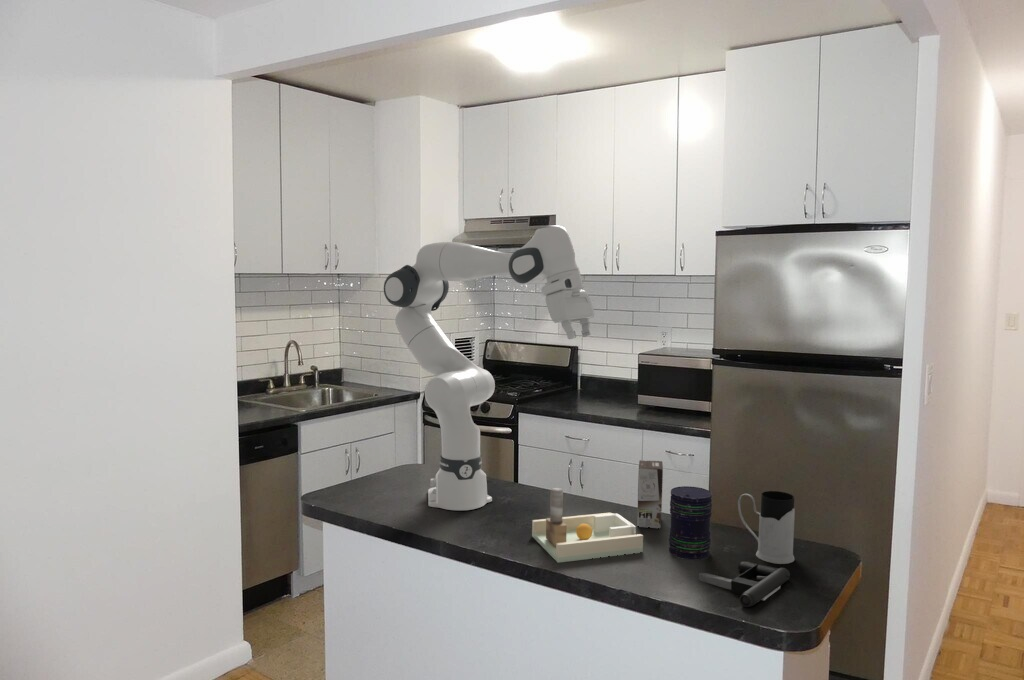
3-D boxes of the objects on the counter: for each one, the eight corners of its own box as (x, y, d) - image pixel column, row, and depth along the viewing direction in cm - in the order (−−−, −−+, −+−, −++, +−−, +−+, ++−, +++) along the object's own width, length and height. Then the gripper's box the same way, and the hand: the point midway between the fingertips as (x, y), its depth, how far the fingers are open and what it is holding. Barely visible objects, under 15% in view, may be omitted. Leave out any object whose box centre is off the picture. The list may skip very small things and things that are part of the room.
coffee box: (661, 529, 198) (663, 469, 196) (636, 527, 199) (638, 467, 198) (661, 517, 207) (663, 460, 205) (637, 516, 208) (639, 459, 207)
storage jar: (676, 542, 189) (678, 483, 187) (715, 549, 184) (717, 490, 182) (662, 554, 180) (664, 494, 179) (703, 563, 175) (705, 500, 174)
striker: (545, 538, 186) (546, 486, 185) (557, 536, 187) (558, 485, 186) (554, 546, 181) (555, 493, 179) (566, 545, 181) (567, 492, 180)
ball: (573, 537, 187) (573, 522, 187) (588, 536, 189) (588, 520, 188) (579, 543, 184) (580, 527, 183) (594, 541, 185) (595, 525, 185)
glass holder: (785, 566, 173) (788, 503, 172) (728, 550, 183) (730, 490, 182) (800, 556, 180) (803, 495, 178) (744, 541, 189) (746, 483, 188)
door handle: (685, 578, 161) (757, 597, 150) (728, 553, 176) (796, 568, 165) (685, 593, 161) (757, 613, 150) (729, 567, 176) (797, 583, 165)
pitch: (532, 536, 192) (532, 516, 191) (610, 527, 198) (610, 508, 198) (557, 562, 175) (558, 541, 174) (642, 552, 181) (643, 531, 181)
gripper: (571, 289, 203) (584, 338, 202) (537, 289, 185) (552, 343, 184) (592, 282, 200) (605, 332, 199) (560, 281, 182) (575, 336, 181)
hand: (579, 337), depth 192 cm, fingers open, 8 cm apart
